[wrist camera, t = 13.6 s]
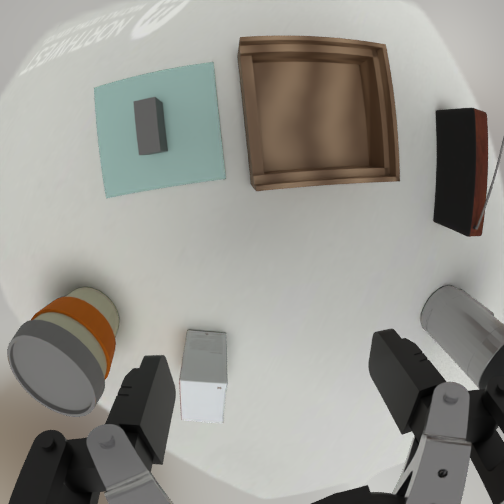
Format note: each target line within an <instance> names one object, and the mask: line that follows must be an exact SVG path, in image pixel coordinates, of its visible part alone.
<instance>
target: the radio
mask: <svg viewBox="0 0 504 504" xmlns="http://www.w3.org/2000/svg"><path fill="white" fill-rule="evenodd" d="M436 136H437V168H436V192H435V207H434V218H433V220H434V222H436V223H438V224H441V225H443V226H445V227H448V228H450V229H452V230H454V231H457V232H459V233H461V234H463V235H465V236H468V237H470V236H481V235H482V230H483V222H484V214H485V208H486V205H487V202H488V199H489V196H490V193H491V190H492V186H493V183H494V179H495V176H496V173H497V169H498V165H499V161H500V158H501V153H502V149H503V145H504V138H503V142H502V146H501V150H500V154H499V158H498V162H497V166H496V170H495V173H494V177H493V180H492V183H491V186H490V189H489V192H488V195H487V198H486V192H487V176H488V126H487V114H486V112H483V111H480V110H477V109H474V108H461V109H448V110H437V111H436Z"/></svg>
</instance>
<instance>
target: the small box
mask: <svg viewBox="0 0 504 504" xmlns="http://www.w3.org/2000/svg"><path fill="white" fill-rule="evenodd" d="M179 385H180V405H181V420H186V421H196V422H209V423H224V408H225V398H226V391H227V385H228V379H227V345H226V333H217V332H204V331H192V330H187V335H186V341H185V347H184V353H183V360H182V366H181V373H180V378H179Z"/></svg>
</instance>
